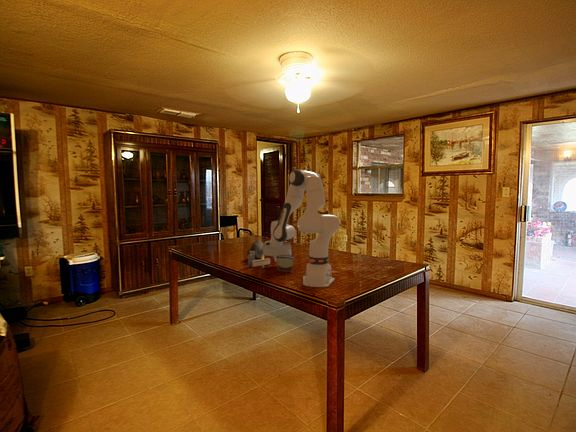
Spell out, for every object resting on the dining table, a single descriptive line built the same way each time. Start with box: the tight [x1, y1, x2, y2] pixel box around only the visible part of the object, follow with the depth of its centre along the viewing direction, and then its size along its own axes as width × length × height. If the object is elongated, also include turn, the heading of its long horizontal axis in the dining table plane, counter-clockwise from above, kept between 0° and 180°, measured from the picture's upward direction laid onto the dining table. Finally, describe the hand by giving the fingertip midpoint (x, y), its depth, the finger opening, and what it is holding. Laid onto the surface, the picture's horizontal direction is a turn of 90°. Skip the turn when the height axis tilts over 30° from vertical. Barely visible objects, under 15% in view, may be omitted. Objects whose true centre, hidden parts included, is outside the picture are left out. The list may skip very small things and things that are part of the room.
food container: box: [276, 254, 295, 273], centre depth 206 cm, size 12×6×10 cm, turn 74°
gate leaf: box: [252, 258, 271, 268], centre depth 218 cm, size 14×1×4 cm, turn 125°
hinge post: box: [247, 254, 253, 269], centre depth 213 cm, size 3×3×10 cm
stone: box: [246, 239, 265, 260], centre depth 241 cm, size 15×10×15 cm
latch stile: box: [250, 251, 256, 261], centre depth 227 cm, size 2×3×9 cm
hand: (277, 262), depth 218 cm, fingers closed
